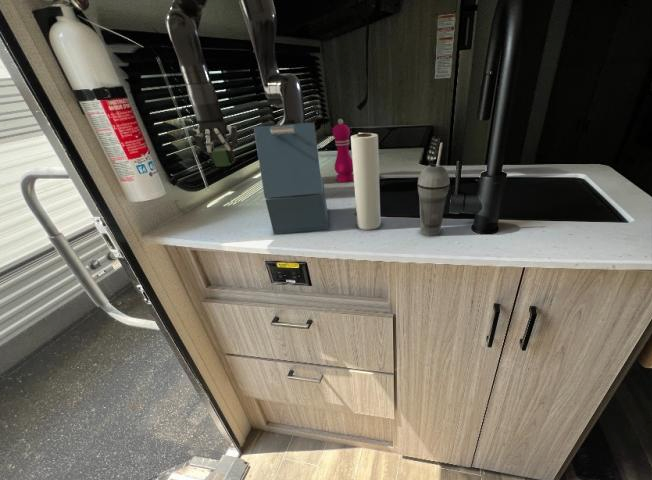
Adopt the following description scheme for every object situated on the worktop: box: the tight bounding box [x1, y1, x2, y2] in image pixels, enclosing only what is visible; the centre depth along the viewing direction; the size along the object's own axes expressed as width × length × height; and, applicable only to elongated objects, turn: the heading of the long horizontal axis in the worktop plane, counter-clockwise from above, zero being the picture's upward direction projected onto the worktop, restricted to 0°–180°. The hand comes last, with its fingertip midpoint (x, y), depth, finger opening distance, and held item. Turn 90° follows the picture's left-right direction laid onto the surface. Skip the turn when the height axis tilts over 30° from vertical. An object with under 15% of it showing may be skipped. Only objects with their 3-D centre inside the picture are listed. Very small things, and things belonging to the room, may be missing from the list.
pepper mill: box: [332, 118, 354, 183], centre depth 113 cm, size 7×7×20 cm
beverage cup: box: [416, 142, 451, 237], centre depth 72 cm, size 7×7×20 cm
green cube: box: [211, 147, 233, 168], centre depth 102 cm, size 4×4×4 cm
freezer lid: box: [253, 122, 323, 199], centre depth 73 cm, size 16×14×5 cm
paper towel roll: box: [350, 132, 382, 231], centre depth 77 cm, size 7×6×21 cm
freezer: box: [265, 178, 329, 235], centre depth 85 cm, size 15×14×9 cm
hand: (224, 163), depth 103 cm, fingers closed on green cube, 4 cm apart
